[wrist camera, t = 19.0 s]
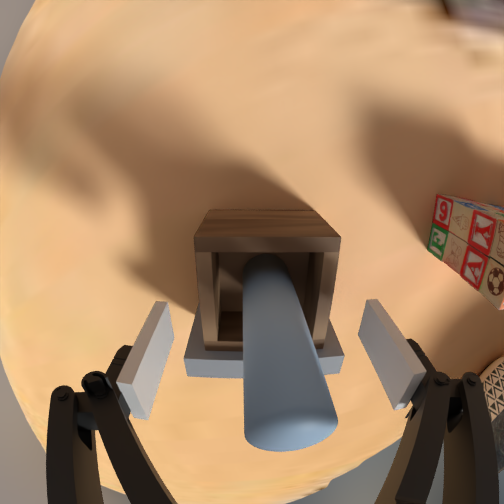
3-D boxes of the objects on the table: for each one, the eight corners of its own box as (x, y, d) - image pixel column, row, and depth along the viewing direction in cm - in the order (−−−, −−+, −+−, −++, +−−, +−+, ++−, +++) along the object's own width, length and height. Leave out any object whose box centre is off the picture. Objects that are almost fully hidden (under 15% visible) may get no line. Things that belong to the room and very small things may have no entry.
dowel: (242, 253, 21) (243, 408, 8) (289, 253, 21) (348, 399, 8) (242, 295, 22) (244, 453, 9) (286, 294, 22) (327, 446, 9)
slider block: (209, 210, 23) (193, 236, 16) (315, 210, 23) (341, 237, 16) (214, 302, 26) (205, 350, 20) (307, 301, 26) (323, 348, 20)
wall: (199, 302, 26) (183, 358, 19) (321, 301, 26) (344, 355, 19) (200, 318, 27) (187, 376, 19) (319, 317, 27) (339, 373, 20)
